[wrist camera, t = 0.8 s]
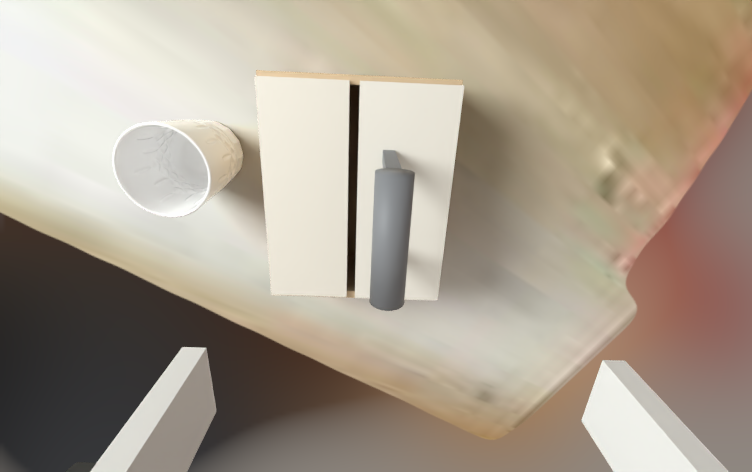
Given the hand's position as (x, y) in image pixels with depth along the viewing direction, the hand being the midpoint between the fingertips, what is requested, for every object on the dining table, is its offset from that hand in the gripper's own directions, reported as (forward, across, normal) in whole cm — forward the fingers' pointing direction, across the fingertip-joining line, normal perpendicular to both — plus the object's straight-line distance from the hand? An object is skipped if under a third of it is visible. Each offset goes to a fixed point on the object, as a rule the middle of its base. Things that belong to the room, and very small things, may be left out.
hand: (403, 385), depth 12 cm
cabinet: (+30, -2, 0) cm, 30 cm away
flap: (+21, +2, 0) cm, 21 cm away
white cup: (+30, -18, +2) cm, 36 cm away
